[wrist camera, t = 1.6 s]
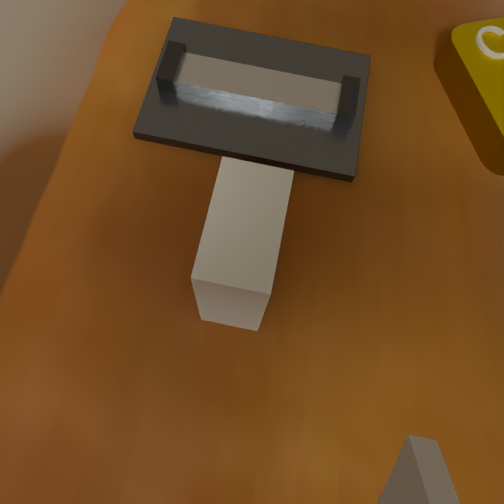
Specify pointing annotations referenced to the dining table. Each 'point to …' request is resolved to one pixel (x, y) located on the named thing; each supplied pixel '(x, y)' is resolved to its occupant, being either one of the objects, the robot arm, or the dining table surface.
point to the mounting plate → (257, 99)
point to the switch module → (241, 243)
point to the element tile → (477, 85)
